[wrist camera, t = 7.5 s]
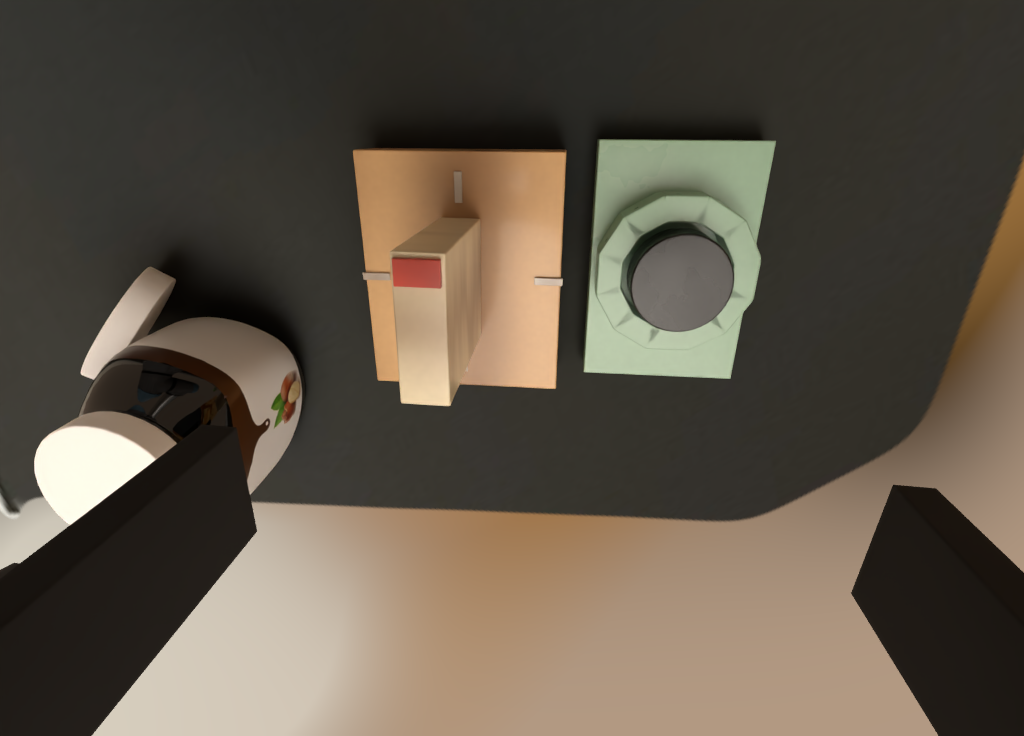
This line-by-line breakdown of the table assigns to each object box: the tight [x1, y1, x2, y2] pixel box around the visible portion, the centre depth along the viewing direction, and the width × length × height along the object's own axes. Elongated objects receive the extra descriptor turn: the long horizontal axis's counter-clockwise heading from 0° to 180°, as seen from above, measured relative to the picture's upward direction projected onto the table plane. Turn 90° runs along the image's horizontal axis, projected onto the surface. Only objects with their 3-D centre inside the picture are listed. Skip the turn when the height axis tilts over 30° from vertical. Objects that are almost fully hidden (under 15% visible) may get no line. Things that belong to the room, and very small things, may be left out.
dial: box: [390, 217, 481, 406], centre depth 23 cm, size 6×2×8 cm, turn 0°
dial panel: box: [353, 148, 566, 389], centre depth 28 cm, size 10×12×3 cm
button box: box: [583, 139, 776, 379], centre depth 27 cm, size 12×8×4 cm, turn 1°
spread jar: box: [34, 267, 305, 525], centre depth 28 cm, size 12×11×12 cm
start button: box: [627, 227, 734, 332], centre depth 25 cm, size 5×5×2 cm
